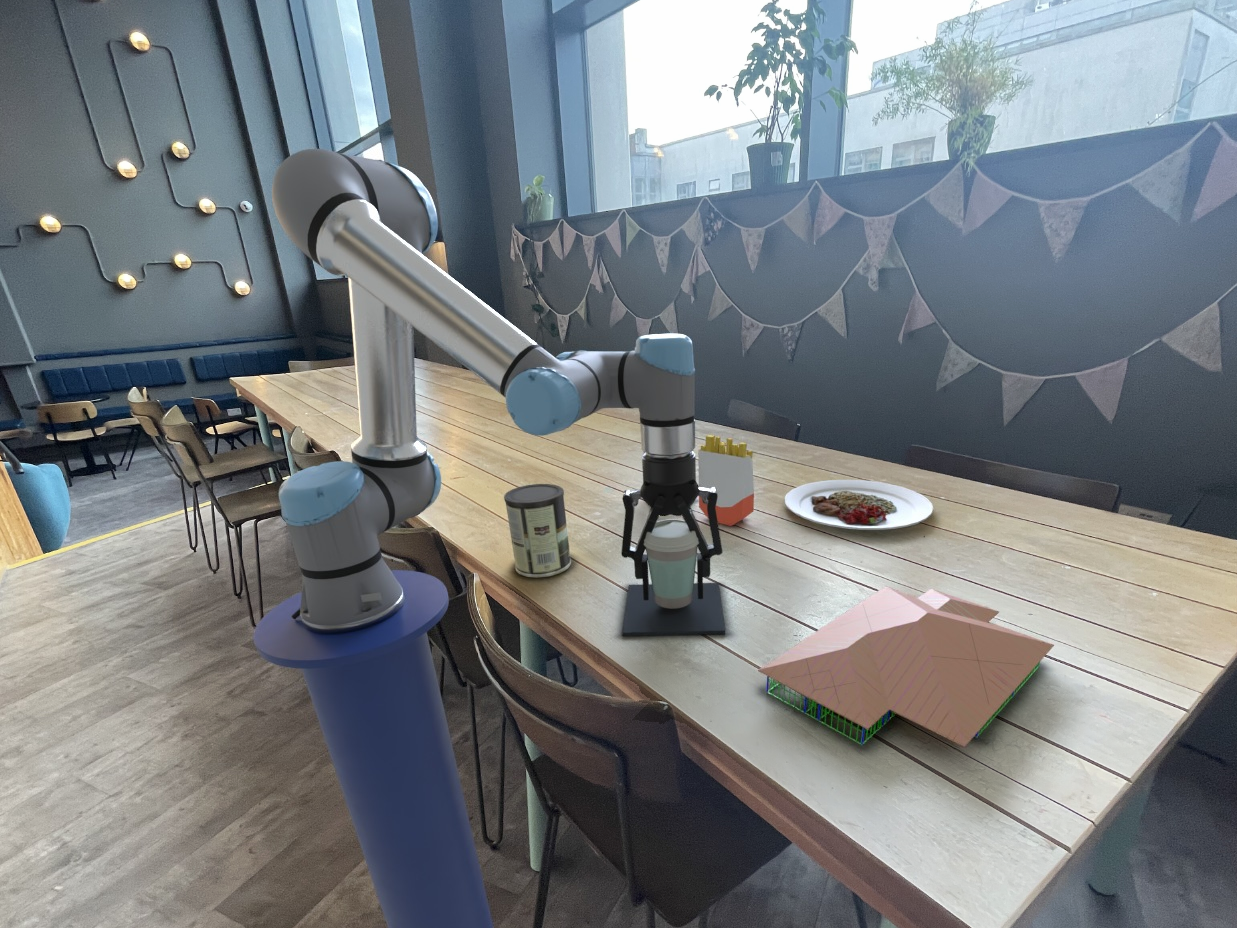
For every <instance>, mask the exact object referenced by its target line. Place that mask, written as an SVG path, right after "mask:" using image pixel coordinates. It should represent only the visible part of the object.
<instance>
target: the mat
mask: <svg viewBox="0 0 1237 928" xmlns="http://www.w3.org/2000/svg"><path fill="white" fill-rule="evenodd" d="M621 635H622V637H642V636H643V637H645V636H646V637H647V636H649V637H650V636H693V635H695V636H698V635H699V636H700V635H702V636H703V635H726V625H725V618H724V611H723V603H722V597H721V589H720V583H719V582H703V599H698V588H697V582H694V587H693V596H692V601H691V603H690V604H688V605H687V606H684V607H681V608H675V609H670V608H664V607H661V606H659V605H658V604H657V603H656V602H655V598H654V593H653V587H652V583H649V600H644V596H643V584H628V590H627V597H626V604H625V611H624V617H623V623H622V630H621Z"/></svg>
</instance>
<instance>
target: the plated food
mask: <svg viewBox="0 0 1237 928" xmlns="http://www.w3.org/2000/svg"><path fill="white" fill-rule="evenodd" d="M784 505H785V506H786V508H787V509H788V510H789V511H790V512H792V513H793V514H794V515H796V516H798V517H800V518H802V519H804V520H807V521H810V522H813V523H816V524H821V525H825V526H829V527H833V528H841V529H847V530H857V531H860V530H861V531H883V530H894V529H901V528H907V527H911V526H914V525H918V524H919V523H922V522H924V521H926V520H927V519H929V518H930V517H931V516H932V513H933V511H934V507H933V503H932V502H931V501H930V500H929V499H928V498H927V497H925V496H924V495H923V494H921V493H919V492H917V491H915V490H912V489H909V488H906V487H904V486H900V485H897V484H892V483H887V482H881V481H875V480H866V479H865V480H863V479H827V480H820V481H819V480H818V481H814V482H808V483H804V484H801V485H799V486H796V487H795V488H792V489H790V491H788V492H787V493H786V494H785V496H784Z"/></svg>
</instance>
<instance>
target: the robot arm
mask: <svg viewBox="0 0 1237 928" xmlns="http://www.w3.org/2000/svg"><path fill="white" fill-rule="evenodd" d="M271 200H272V206H273V209H274V212H275V216H276V218H277V220H278V222H279V224H280V226H281V228H282V230H283V231H284V232H285V234H286V235H287V237H288V238H289V239H290V240H291V242H292V243H293V244H294V245H295V246H296V247H297V248H298V249H299V250H300V251H301V252H302V253H304V255H306V256H307V257H308V258H309V259H310V260H311V261H313V262H315V263H316V264H317V265H318V266H320V267H321V268H322V269H323V270H324V271H327V273H330V274H331V275H333V276H339V277H340V276H346V277H347V280H348V292H349V293H348V294H349V305H350V319H351V320H350V321H351V332H352V344H353V345H352V346H353V357H354V371H355V386H356V394H357V395H356V396H357V410H358V423H359V434H360V435H359V436H357V437H356V439H354V440H353V441H352V442H351V444H350V453H351V461H345V460H344V461H343V460H338V461H329V462H324V463H321V464H319V465H312V466H309V467H306V468H304V469H302V470H299V471H297V472H295V473H294V474H291V475H290V476H289V477H287V478H286V479H285V480H284V481H283V482H282V483H281V485H280V486H279V489H278V500H279V503H280V507H281V510H280V511H281V512H280V513H281V518H282V519H283V521H284V522H285V525H286V528H287V532H288V535H289V538H290V540H291V544H292V547H293V550H294V553H295V555H296V556H295V557H296V560H297V563H298V566H299V570H300V574H301V576H302V581H301V582H302V584H301V592H302V594H301V607H300V609H298V610H297V611H296V612H295V613H294V614H293V615H292V616H291V617H292V618H293V619H296V618H297V617H298V616H300V615H301V618H302V621H303V624H304V626H305V628H306V629H308V630H309V631H311V632H314V633H319V634H343V633H349V632H354V631H358V630H362V629H365V628H368V627H371V626H374V625H376V624H379V623H381V622H383V621H385V620H387V619H388V618H390V617H391V616H393V615H394V614H395V613H397V612H398V611H399V610H400V609H401V608H402V606H403V604H404V602H405V597H404V593H403V589H402V587H401V585H400V584H399V582H398V581H397V580H396V578H395V576H394V575H393V573H392V572H391V569H390V567H389V566H388V564H387V563H386V561H385V559H384V558H383V554H382V551H381V550H382V549H381V546H380V542H379V538H378V536H380V535H381V534H383V533H385V532H387V531H389V530H390V529H392V528H394V527H396V526H398V525H400V524H402V523H404V522H405V521H407V520H409V519H412V518H414V517H415V518H416V517H417V516H419V515H421V514H422V513H424V511H425V510H427V509H428V508H429V507H431V506H432V505H433V504H434V503H435V502H436V500H437V499H438V497H439V495H440V492H441V487H442V474H441V470H440V467H439V465H438V464H437V463H435V462H434V460H435V458H434V457H433V455H432V454H431V453H430V452H429V451H428V447H427V444H426V443H425V442H424V441H423V440H422V439H421V438H420V437H419V436H418V430H417V427H418V426H417V398H416V397H417V396H416V373H415V371H416V370H415V369H416V367H415V337H414V336H415V335H414V333H415V332H414V329H415V330H417V331H418V332H419V333H420V334H422V335H423V336H425V337H426V338H428V339H429V340H430V341H431V342H433V343H434V344H435V345H436V346H438V347H439V348H440V349H442V350H443V351H444V352H446V353H447V354H448V355H449V356H451V357H452V358H454V359H455V361H457V362H459V363H460V364H461V365H462V366H464V367H465V368H467V369H468V370H469V371H470V372H471V373H473V374H474V375H476V377H478V378H479V379H481V380H482V381H483V382H485V383H486V384H487V385H488V386H490V387H491V388H493V389H494V391H496V392H497V393H499V394H500V395H501V396H502V397H504V398H505V405H506V410H507V412H508V414H509V415H510V418H511V419H512V421H513V423H514V425H516V427H518V428H519V429H520V430H522V431H523V432H524V433H526V434H529V435H532V436H537V437H538V436H540V437H541V436H542V437H543V436H548V435H552V434H554V433H559V432H561V431H565V430H566V429H568V428H570V427H571V426H572V425H574V423H576V422H579V421H580V420H582V419H584V418H587V417H589V416H592V415H593V414H594V413H597V412H599V411H601V410H602V409H629V410H630V409H638V411H639V432H640V448H641V449H640V450H641V451H642V452H643V454H642V455H641V467H642V469H641V470H642V484H641V487H640V489H635V490H630V489H625V490H624V491H623V494H622V502H623V506H624V523H623V532H622V543H621V544H622V545H621V553H620V555H621V556H622V558H623V559H624V558H625V559H626V558H629V559H632V560H633V566H634V577H635V579H636V580H642V585H643V596H644V600H649V584H650V579H649V577H650V576H649V564H648V559H647V553H646V554H645V552H646V546H644V540H645V538H646V534H647V532H650V533H652V531H653V529H654V526H655V524H656V522H657V521H658V519H659V517H667V516H675V517H682V518H683V520H685V522H686V524H687V526H688V528H689V530H690V532H691V531H695V533H696V536H697V538H698V542H699V544H698V545H697V547H698V548H697V550H698V551H699V552H697V558H696V577H697V578H696V579H697V582H696V583H697V588H698V599H703V583H704V578H710V576H711V559H712V558H713V557H714V556H720V555H722V554H723V545H722V540H721V534H720V527H719V523H718V521H717V515H716V509H715V507H716V502H717V498H718V495H717V490H716V488H715V487H711V488H709V489H707V488H700V487H699V483H698V482H697V474H696V473H697V470H696V467H697V463H696V459H697V457H696V453H695V452H694V449H695V448H696V420H695V419H696V417H695V374H696V369H695V361H694V346H693V341H692V339H691V338H690V337H689V336H687V335H685V334H682V333H659V334H658V333H655V334H645V335H640V336H639V337H638V338H637V339H636V341H635V347H634V350H629V351H595V350H594V351H590V350H585V349H583V350H582V349H579V350H575V351H564V352H562V353H559V354H558V355H557V356H556V357H555V356H554V355H553V354H551V353H550V352H548V351H547V350H546V349H544V348H543V347H542V346H540V345H539V344H538V343H537V342H535V340H533V339H531V338H530V337H529V336H528V335H526V334H525V333H524V332H522V330H520V329H519V328H518V327H516V326H515V325H513V324H512V323H511V322H510V321H509V320H508V319H506V318H505V317H503V316H502V315H501V314H499V313H498V312H497V311H495V309H493V308H492V307H490V306H489V305H488V304H486V303H485V302H484V301H483V300H481V299H480V298H478V297H477V296H476V295H475V294H474V293H472V292H471V291H470V290H468V289H467V288H465V287H464V286H463V285H462V284H461V283H459V282H458V281H457V280H455V279H454V278H453V277H452V276H451V275H449V274H448V273H446V272H445V271H444V270H443V269H442V268H440V267H439V266H437V265H436V264H435V263H434V262H432V261H431V260H430V259H428V258H427V257H426V256H425V255H424V254H426V253H427V252H428V251H429V250H430V249H431V245H433V244H434V243H435V241H436V239H437V235H438V229H439V223H438V221H439V220H438V213H437V209H436V206H435V203H434V200H433V198H432V196H431V194H430V192H429V191H428V189H427V187H425V186H424V184H423V183H422V181H421V179H420V178H418V177H417V175H416V174H414V173H413V172H411V171H410V170H408V169H406V168H405V167H402V166H400V165H396V164H393V163H391V162H388V161H384V160H382V159H373V158H369V157H368V158H367V157H362V156H358V155H352V154H346V153H342V152H335V151H333V150H328V149H322V148H307V149H302V150H298V151H297V152H295V153H291V155H289V156H288V157H286V158H285V159H284V160H283V161H282V162H281V164H280V165H279V166H278V168H277V170H276V172H275V174H274V176H273V180H272V185H271ZM692 450H693V451H692ZM644 452H645V453H644ZM699 496H700V497H701V498H702V502H703V503H704V504H707V512H708V518H709V519H708V518H707V519H708V523H709V528H710V529H709V530H710V535H711V539H712V544H709V545H708V543H707V540H706V538H705V535H704V532H703V531H702V529H701V527H700V525H699V522H698V521H697V518H696V517H695V516H696V515H694V512H693V509H692V507H691V506H692V505H693V503H694V502H695V501H696V500H697V498H699ZM640 499H642V500H643V501H644V503H646V504H647V506H648V507H649V510H648V515H647V517H646V519H645V522H644V525H643V527H642V530H641V532H640V535H639V537H638V541H637V543H636V546H635V547H634V546H631V545H632V537H633V536H632V535H633V526H634V518H635V517H634V516H635V507H637V506H638V505H639V501H640Z"/></svg>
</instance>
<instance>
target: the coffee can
mask: <svg viewBox="0 0 1237 928" xmlns="http://www.w3.org/2000/svg"><path fill="white" fill-rule="evenodd" d="M564 495H565V490H564V488H563V487H562V486H559V485H557V484H552V483H551V484H550V483H534V484H527V485H522V486H518V487H515V488H513V489H510V490H508V491H506V493H505V494H504V495H503V499H504V502H505V507H506V514H507V519H508V526H509V533H510V540H511V545H512V546H511V547H512V552H513V558H514V559H513V560H514V566H515V572H516V573H517V574H519V575H520V576H523V577H527V578H536V579H537V578H547V577H552V576H557V575H558V574H561V573H563V572H565V571H566V570H568V569H569V568H570V567H571V565H572V558H571V551H570V542H569V533H568V526H567V516H566V507H565V499H564Z"/></svg>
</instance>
